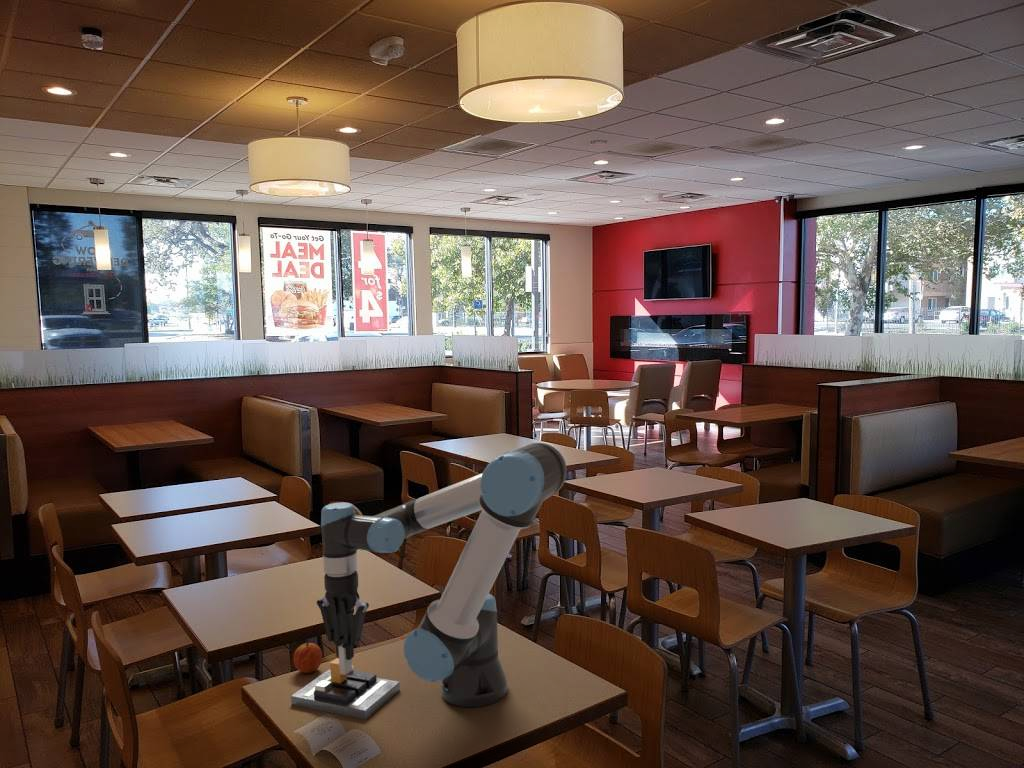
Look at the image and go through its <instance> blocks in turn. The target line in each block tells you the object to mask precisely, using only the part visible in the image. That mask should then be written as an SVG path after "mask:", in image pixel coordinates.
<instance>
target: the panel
mask: <svg viewBox="0 0 1024 768" xmlns="http://www.w3.org/2000/svg"><path fill="white" fill-rule="evenodd" d="M400 690H401V685H400V681H397V680H391V679H387V678H380V677H377V673H371V672H367V671H365V672H364V671H360V670H354V665H352V670H351V671H350V672H349V673H347V679H346V680H344V681H343V682H342V683H336V682H331V671H330V668H329V669H327V670H326V671H325V672H323V673H322V674H320V675H318V677H316V678H314V679H313V680H312V681H310V682H309V683H308V684H306V685H304V686H303V687H301V688H299V690H298V691H296V692H294V693H293V694H292V695H290V699H291V700H290V701H291V703H290V704H291V705H292V704H293V705H292V706H297V707H303V708H308V709H312V710H317V711H322V712H327V713H332V714H336V715H342V716H346V717H351V718H357V719H362V720H367V719H368V718H369V717H370V716H371V715H373V714H374V713H375V712H376V711H377V710H379V709H380V708H382V706H384V705H385V704H386V703H387V702H388V701H389V700H390V699H391V698H393V697H394V695H396V694H397V693H398V692H400Z"/></svg>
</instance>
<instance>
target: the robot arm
mask: <svg viewBox="0 0 1024 768" xmlns="http://www.w3.org/2000/svg"><path fill="white" fill-rule="evenodd" d="M567 468H568V467H567V463H566V460H565V458H564V455H562V453H561V452H560V451H559V450H557V448H555V446H552V445H551V444H548V443H545V442H544V443H543V442H533V443H529V444H527V445H525V446H522V447H520V448H516V449H514V450H508V451H505V452H503V453H501V454H499V455H498V456H496V457H495V458H494V459H492V460H491V461H490V462H489V463H488V464H487V465H486V467H485V468H484V470H483V472H482V473H479V474H476V475H474V476H472V477H469V478H467V479H464V480H461V481H459V482H456V483H454V484H450V485H447V486H446V487H443V488H441V489H438V490H436V491H434V492H431V493H428V494H426V495H423V496H421V497H418V498H416V499H415V498H414V500H413V499H412V500H409V501H407V502H404V503H403V504H401V505H397V506H396V507H393V508H391V509H388V510H385V511H383V512H381V513H378V514H375V515H361V514H357V513H356V508H355V505H354V504H353V503H351V502H342V501H341V502H334V503H329V504H327V505H325V506H323V507H322V509H321V513H320V515H321V516H320V517H321V518H320V527H321V528H320V529H321V538H322V540H321V541H322V560H323V561H322V565H323V573H324V575H323V578H324V581H323V583H324V590H325V594H324V596H322V597H321V598H320V599H317V601H316V605H317V607H318V608H319V610H320V613H321V617H322V622H323V626H324V629H325V633H326V638H327V641H328V642H333V643H334V645H335V650H336V658H339V668H340V674H343V675H346V674H347V673H349V672H350V671H351V670H352V666H353V661H352V660H353V658H354V657H355V653H354V652H355V649H354V646H355V645H357V644H358V643H359V642H361V640H362V636H363V635H362V634H363V630H364V622H365V619H366V618H365V616H366V612H367V611H368V608H369V606H370V603H368V602H366V601H365V602H363V601H362V600H361V599H360V595H359V593H358V589H359V572H358V552H357V551H358V550H361V551H368V552H375V553H377V554H378V553H379V554H385V553H387V554H391V553H392V554H393V553H395V552H397V551H398V550H399V549H400V547H401V546H402V545H403V543H404V539H407V538H409V537H411V536H414V535H416V534H420V533H421V532H424V531H427V530H429V529H433V528H434V527H437V526H440V525H444V524H446V523H449V522H451V521H454V520H457V519H460V518H463V517H465V516H468V515H471V514H474V513H477V512H479V511H481V512H480V513H479V516H478V518H477V521H476V523H475V524H474V527H473V529H472V532H471V533H470V536H469V537H468V540H467V542H466V543H465V546H464V548H463V549H462V552H461V554H460V556H459V559H458V560H457V563H456V565H455V567H454V568H453V571H452V573H451V575H450V578H449V579H448V582H447V584H446V586H445V588H444V591H443V593H442V594H441V597H440V599H436V600H433V601H432V602H431V603H429V606H428V607H427V609H426V612H425V614H424V615H423V617H422V620H421V622H420V623H419V625H418V626H417V628H415V629H413V630H410V632H409V634H408V635H407V636H406V638H405V640H404V643H403V654H404V658H405V659H406V663H407V664H408V667H409V668H410V670H411V671H412V672H413V673H414V675H416V676H417V677H419V678H420V679H421V680H423V681H426V682H428V683H439V682H441V685H440V686H441V696H442V698H443V700H444V701H446V702H447V703H449V704H451V705H453V706H456V707H461V708H462V707H464V708H480V707H484V706H485V707H486V706H489V705H492V704H495V703H497V702H498V701H500V700H502V699H503V698H504V697H505V696H506V694H507V693H508V680H507V676H506V674H505V671H504V668H503V666H502V663H501V661H500V658H499V644H498V643H499V639H498V609H497V603H496V602H497V601H496V598H495V596H493V595H492V594H491V589H493V586H494V583H495V581H496V580H497V578H498V575H499V573H500V571H501V569H502V567H503V565H504V564H505V562H506V559H507V557H508V555H509V554H510V551H511V549H512V547H513V546H514V543H515V541H516V539H517V537H518V535H519V533H520V531H521V530H525V529H528V528H530V527H531V525H532V523H533V522H534V520H535V518H536V516H537V514H538V512H539V510H540V508H541V506H542V504H543V502H544V501H546V500H547V499H549V498H551V497H552V496H554V495H556V494H557V493H558V492H559V491H560V490H561V489H562V487H563V485H564V484H565V482H566V479H567V471H568V469H567Z"/></svg>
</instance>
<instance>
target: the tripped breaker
mask: <svg viewBox="0 0 1024 768" xmlns="http://www.w3.org/2000/svg"><path fill="white" fill-rule="evenodd" d="M329 665H330V666H329V669H330V671H331V682H336V683H342V682H343V681H344V680H346V679H347V674H346V675H343V674H340V668H339V658H337V657H336V658H334V660H332V661H330V662H329Z"/></svg>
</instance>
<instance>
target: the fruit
mask: <svg viewBox="0 0 1024 768" xmlns="http://www.w3.org/2000/svg"><path fill="white" fill-rule="evenodd" d="M322 662H323V652H322V649H321V647H320V646H319V645H317V644H316V643H313V642H309V641H308V640H306V643H303V644H301V645H299V646H298V647H297V648H296V649H295V651H294V654H293V665H294V667H295V669H296V670H298V671H299V672H301V673H303V674H310V673H313V672H315V671H317V670H318V668H319V667H320V666H321V664H322Z"/></svg>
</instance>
